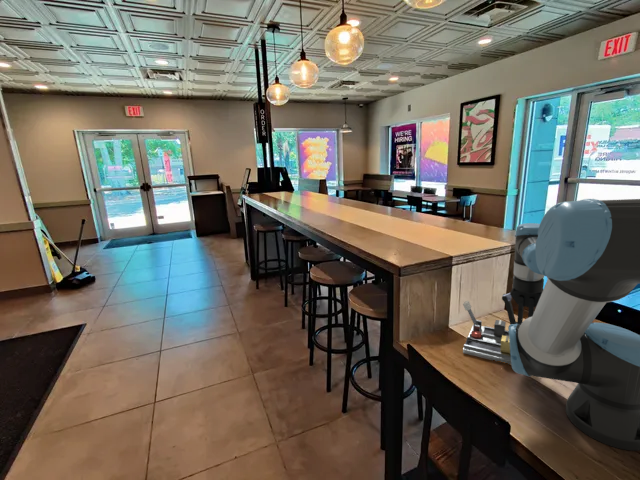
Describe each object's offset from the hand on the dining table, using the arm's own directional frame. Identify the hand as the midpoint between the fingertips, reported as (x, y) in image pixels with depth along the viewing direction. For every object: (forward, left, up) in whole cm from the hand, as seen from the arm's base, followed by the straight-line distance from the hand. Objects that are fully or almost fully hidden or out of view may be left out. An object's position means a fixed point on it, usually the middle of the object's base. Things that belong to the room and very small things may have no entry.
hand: (523, 348), depth 98 cm
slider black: (+10, +7, -2) cm, 12 cm away
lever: (+10, +14, -1) cm, 17 cm away
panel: (+5, +9, -4) cm, 11 cm away
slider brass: (0, +4, -2) cm, 5 cm away
